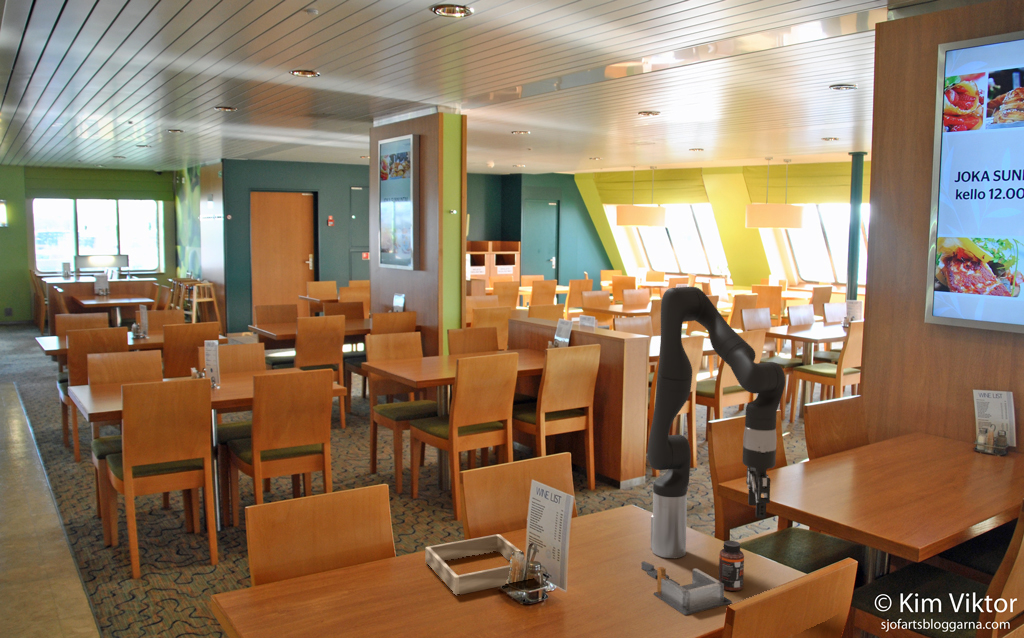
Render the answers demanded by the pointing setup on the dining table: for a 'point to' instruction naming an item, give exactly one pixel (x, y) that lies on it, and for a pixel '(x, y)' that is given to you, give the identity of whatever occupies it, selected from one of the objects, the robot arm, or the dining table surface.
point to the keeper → (691, 592)
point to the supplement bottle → (731, 566)
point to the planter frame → (468, 548)
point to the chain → (653, 571)
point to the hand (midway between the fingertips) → (756, 511)
